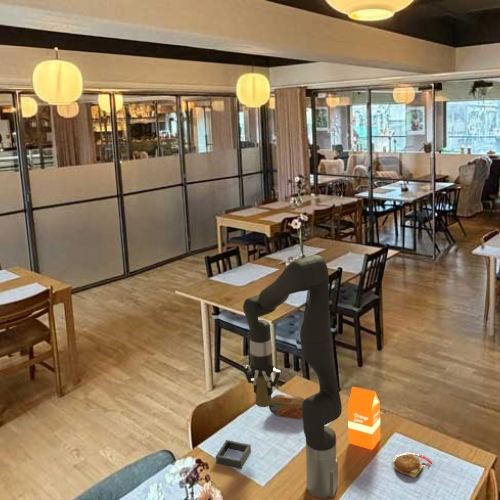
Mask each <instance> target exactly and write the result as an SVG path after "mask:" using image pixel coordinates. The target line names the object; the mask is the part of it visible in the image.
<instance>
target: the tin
mask: <svg viewBox="0 0 500 500" xmlns="http://www.w3.org/2000/svg"><path fill="white" fill-rule="evenodd" d="M304 400H305V399H304V397H300V396H297V395H296V396H295V395H285V394H276V395H274V396H273V397H272V404H271V405H270V406H268V408H269V411H270V412H271V414H273V415H274V416H276V417H279V418H284V417H285V418H286V419H294V420H303V419H302V404H303V401H304Z"/></svg>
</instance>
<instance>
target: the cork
mask: <svg viewBox="0 0 500 500" xmlns="http://www.w3.org/2000/svg"><path fill="white" fill-rule="evenodd" d="M268 379H269V377H268ZM255 381H256V383H257V392H256V393H255V402H254V403H255V405H256V406H258V407H259V408H267V407H268V408H269V406H270V405H271V404H272V398H273V397H272V395H270V397H269V396H268V391H267V387H268V386H267V383H268V382H266V380H265V379H264V377H262V376H258V377H257V378H256V380H255Z"/></svg>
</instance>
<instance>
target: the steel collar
mask: <svg viewBox="0 0 500 500" xmlns="http://www.w3.org/2000/svg"><path fill="white" fill-rule="evenodd" d="M251 447H252V445H251V444H250V443H242V442H238V441H233V440H229V439H226V440H225V441H224V443H223V445H222V446H221V447H220V448H219V451H218V452H217V454H216V455H215V464H217V465H220V466H225V467H230V468H234V469H239V470H242V469H243V467H244V465H245V464H246V462H247V460H248V458H249V457H250V455H251V453H252V448H251ZM228 450H232V451H237V452H241V453H242V455H241V456H240V459H238V458H233V457H228V456H225V454H227V451H228Z"/></svg>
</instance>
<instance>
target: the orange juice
mask: <svg viewBox="0 0 500 500" xmlns="http://www.w3.org/2000/svg"><path fill="white" fill-rule="evenodd" d="M347 413H348V415H347V418H348V421H347V423H348V425H347V426H348V427H347V428H348V443H349V444H350V445H354V446H356V447H361V448H365V449H368V450H371V451H372V450H373V449H374V448H375V447H376V446H377V445H378V443H379V441H381V402H380V399H379V398H378V395H377V392H376V391H374V390H369V389H366V388H361V387H355V386H352V387H351V391H350V396H349V399H348V404H347Z"/></svg>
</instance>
